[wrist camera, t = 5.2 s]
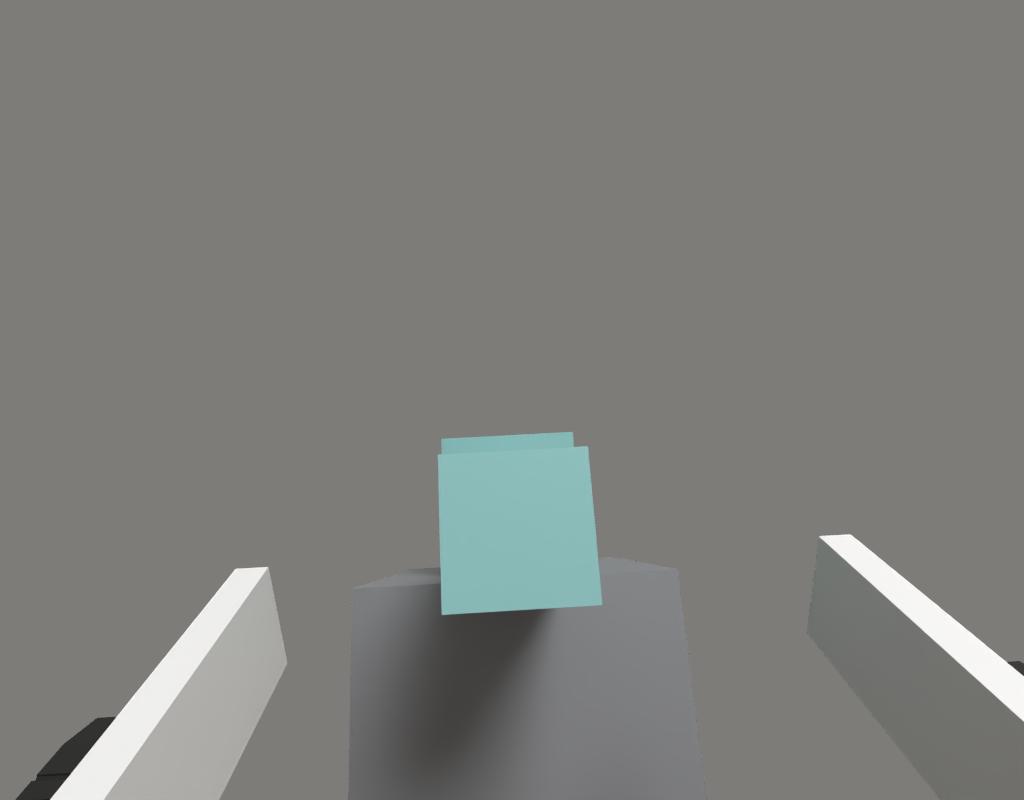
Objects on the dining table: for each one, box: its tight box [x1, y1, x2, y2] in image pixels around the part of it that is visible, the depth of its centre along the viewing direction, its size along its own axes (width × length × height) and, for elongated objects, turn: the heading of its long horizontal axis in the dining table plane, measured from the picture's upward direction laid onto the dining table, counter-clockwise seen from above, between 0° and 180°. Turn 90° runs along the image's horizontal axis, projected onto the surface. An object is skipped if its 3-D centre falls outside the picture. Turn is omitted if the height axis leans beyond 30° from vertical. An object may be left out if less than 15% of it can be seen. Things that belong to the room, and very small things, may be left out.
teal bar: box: [438, 432, 602, 615], centre depth 24 cm, size 21×7×7 cm, turn 0°
